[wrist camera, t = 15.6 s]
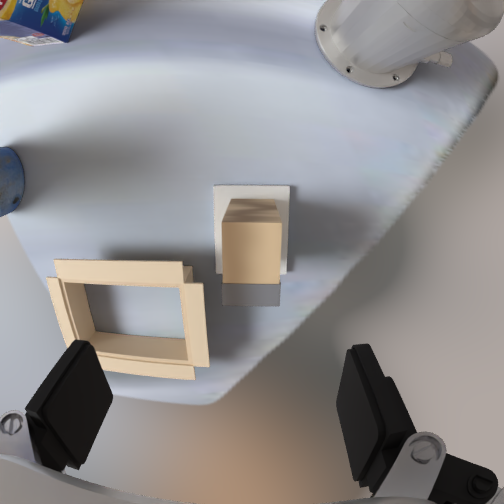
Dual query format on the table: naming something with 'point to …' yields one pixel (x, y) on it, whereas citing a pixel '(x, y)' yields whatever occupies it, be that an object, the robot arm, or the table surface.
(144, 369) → the carton
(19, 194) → the bottle
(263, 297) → the block
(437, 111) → the table surface
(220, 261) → the felt mat
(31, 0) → the beverage box
